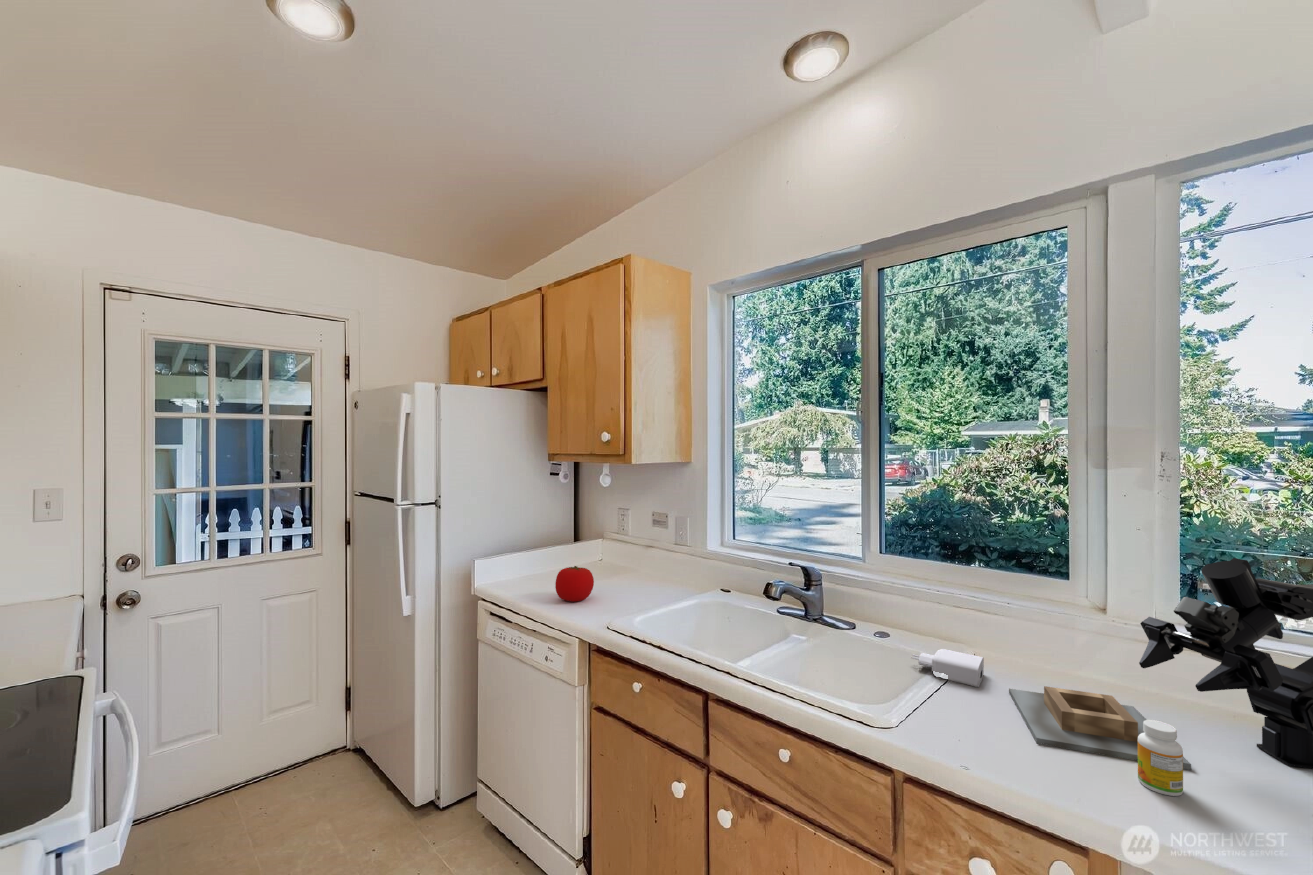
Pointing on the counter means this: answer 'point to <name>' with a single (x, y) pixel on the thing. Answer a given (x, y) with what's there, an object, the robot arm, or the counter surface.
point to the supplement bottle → (1160, 758)
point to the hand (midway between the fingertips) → (1167, 676)
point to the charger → (955, 665)
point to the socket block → (1082, 721)
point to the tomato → (574, 583)
